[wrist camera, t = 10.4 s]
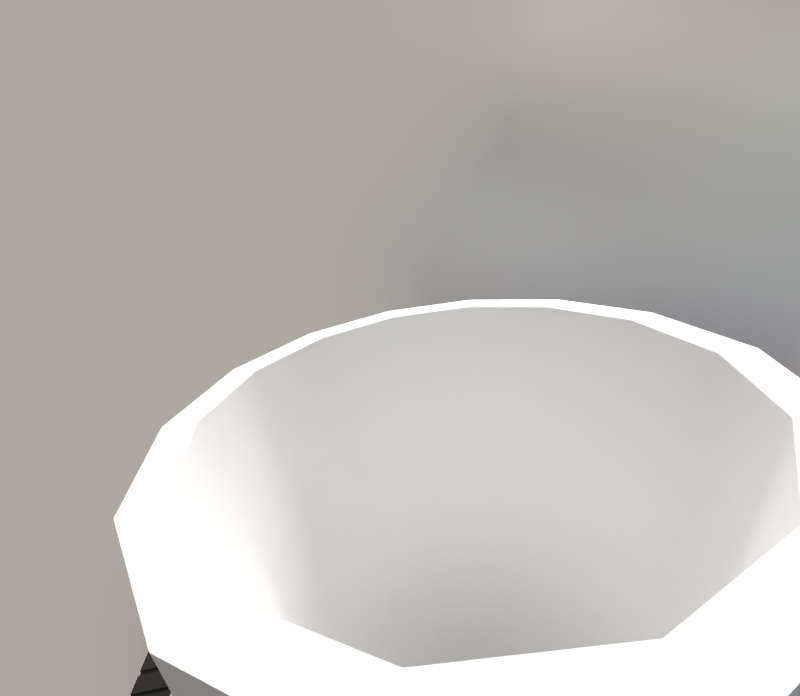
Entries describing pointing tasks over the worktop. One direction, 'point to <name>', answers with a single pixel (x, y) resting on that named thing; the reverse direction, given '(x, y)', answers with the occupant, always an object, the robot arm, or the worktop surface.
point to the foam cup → (478, 512)
